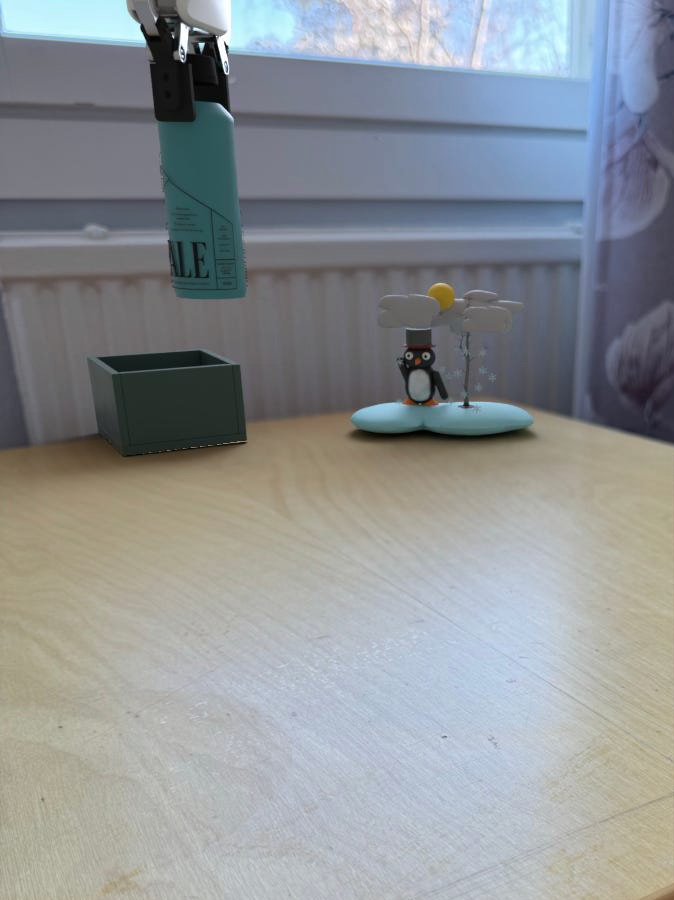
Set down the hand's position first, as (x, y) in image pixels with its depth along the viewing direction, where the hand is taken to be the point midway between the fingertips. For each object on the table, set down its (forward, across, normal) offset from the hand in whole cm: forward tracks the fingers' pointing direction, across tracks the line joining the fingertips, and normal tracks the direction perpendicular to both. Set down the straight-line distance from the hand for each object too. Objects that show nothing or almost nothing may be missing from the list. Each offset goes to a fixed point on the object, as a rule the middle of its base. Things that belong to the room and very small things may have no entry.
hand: (194, 122), depth 82 cm
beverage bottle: (+15, 0, 0) cm, 15 cm away
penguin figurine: (+29, -20, +17) cm, 39 cm away
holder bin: (+29, -12, -11) cm, 33 cm away
